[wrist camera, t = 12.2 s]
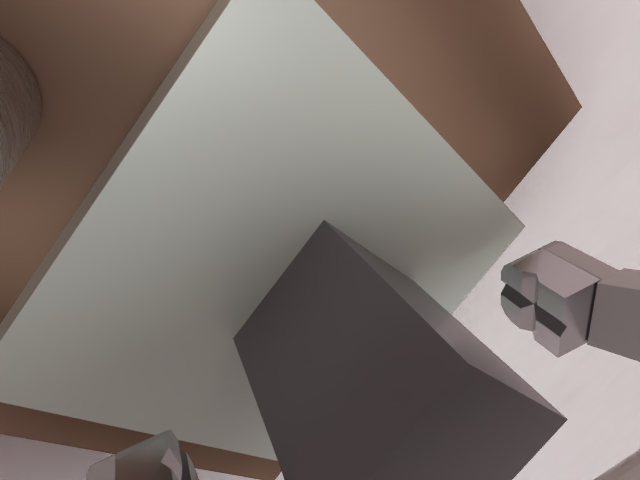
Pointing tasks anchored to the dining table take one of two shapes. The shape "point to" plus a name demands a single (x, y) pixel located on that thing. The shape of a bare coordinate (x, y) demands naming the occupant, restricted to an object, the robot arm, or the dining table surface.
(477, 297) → the dining table surface
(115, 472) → the robot arm
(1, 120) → the post with tan bar
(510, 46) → the housing
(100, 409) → the cover
